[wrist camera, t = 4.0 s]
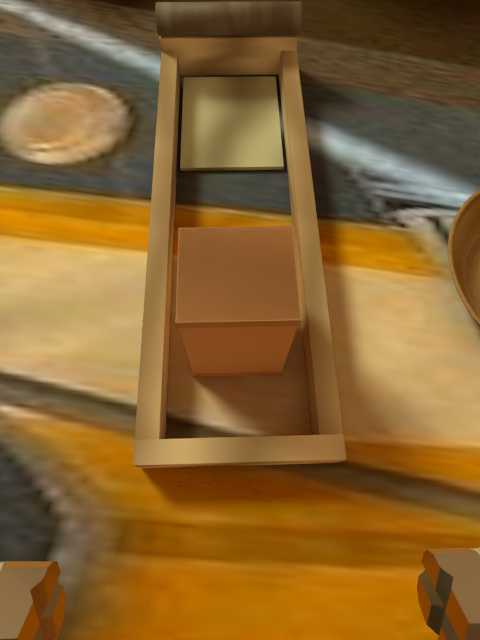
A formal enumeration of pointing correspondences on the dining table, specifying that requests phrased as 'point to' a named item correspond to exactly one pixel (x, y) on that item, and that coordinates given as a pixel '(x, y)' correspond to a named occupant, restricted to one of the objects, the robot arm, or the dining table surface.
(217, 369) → the orange brown block
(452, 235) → the plant saucer
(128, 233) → the dining table surface
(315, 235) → the bay
